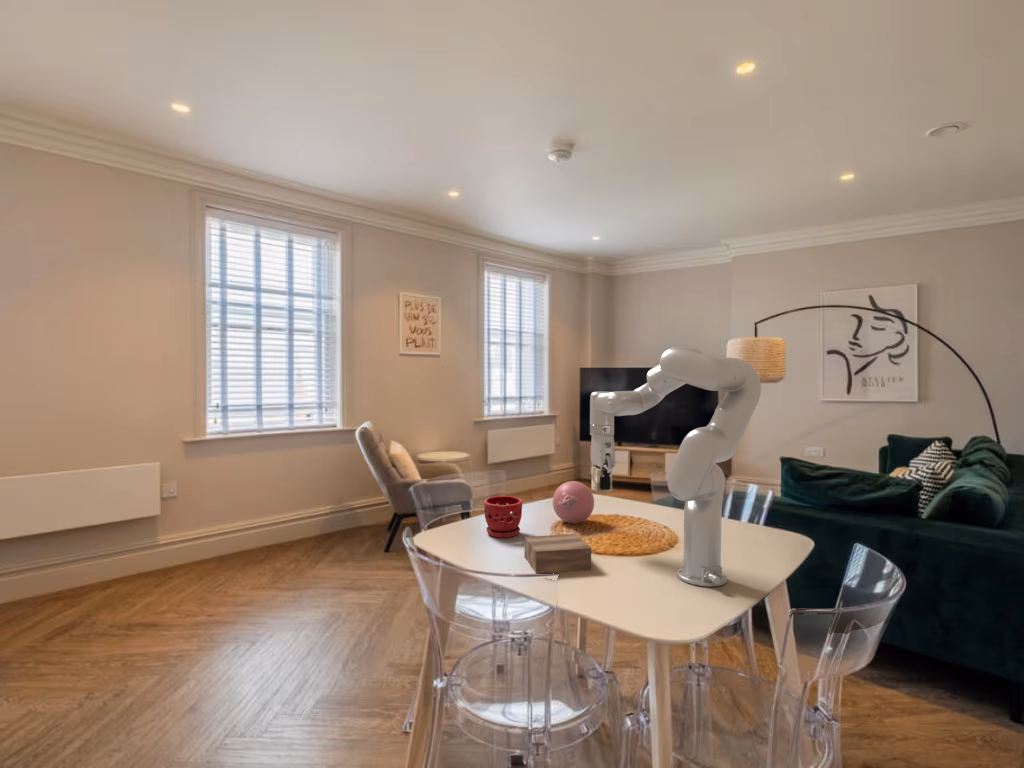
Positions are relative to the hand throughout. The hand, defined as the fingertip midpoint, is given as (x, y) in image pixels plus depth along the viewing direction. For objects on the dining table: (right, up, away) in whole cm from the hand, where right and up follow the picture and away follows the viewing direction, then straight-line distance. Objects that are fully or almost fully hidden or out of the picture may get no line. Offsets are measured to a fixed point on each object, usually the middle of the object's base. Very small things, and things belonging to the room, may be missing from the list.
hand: (601, 487), depth 169 cm
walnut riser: (-15, -19, -14) cm, 29 cm away
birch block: (0, -1, 0) cm, 1 cm away
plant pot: (-32, -19, +14) cm, 40 cm away
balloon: (-7, -19, +27) cm, 34 cm away
